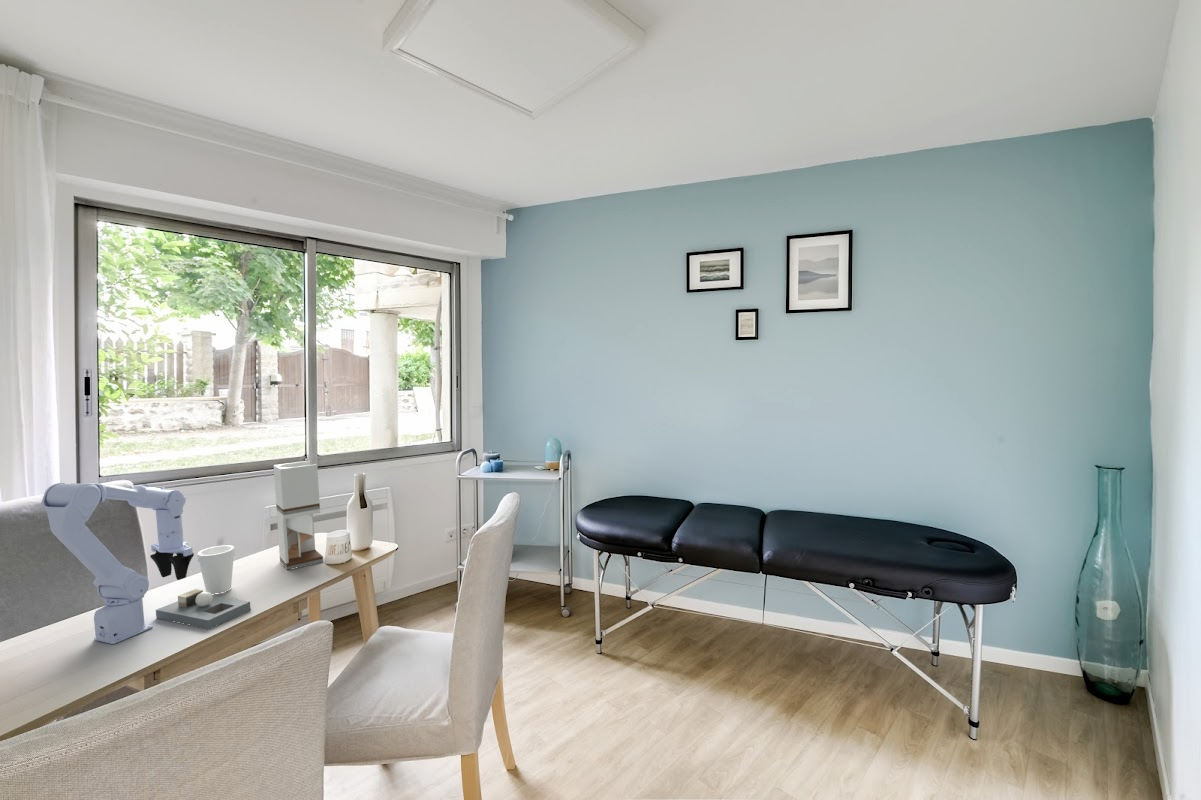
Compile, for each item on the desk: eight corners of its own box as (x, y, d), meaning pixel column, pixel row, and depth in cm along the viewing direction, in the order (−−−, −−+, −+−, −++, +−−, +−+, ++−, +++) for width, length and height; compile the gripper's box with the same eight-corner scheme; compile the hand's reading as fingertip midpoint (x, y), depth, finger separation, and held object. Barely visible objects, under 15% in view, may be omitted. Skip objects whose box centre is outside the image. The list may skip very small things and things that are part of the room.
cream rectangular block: (186, 607, 157) (185, 597, 157) (178, 606, 158) (177, 595, 158) (204, 600, 162) (203, 590, 162) (196, 598, 163) (195, 588, 163)
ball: (202, 609, 156) (201, 595, 155) (192, 608, 157) (191, 594, 157) (216, 603, 159) (215, 590, 159) (206, 602, 161) (205, 588, 160)
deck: (208, 629, 149) (208, 620, 149) (156, 618, 157) (155, 609, 156) (250, 610, 161) (250, 601, 160) (199, 600, 168) (199, 592, 168)
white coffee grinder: (287, 570, 191) (280, 469, 188) (280, 562, 199) (273, 465, 196) (323, 561, 199) (317, 464, 196) (314, 554, 207) (309, 460, 204)
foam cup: (244, 585, 179) (241, 545, 178) (221, 597, 170) (218, 555, 169) (216, 584, 180) (213, 545, 179) (193, 596, 171) (189, 555, 170)
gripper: (201, 529, 162) (205, 575, 163) (167, 525, 167) (171, 569, 168) (176, 536, 155) (180, 584, 156) (141, 532, 160) (145, 578, 161)
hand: (173, 577), depth 162 cm, fingers open, 6 cm apart
